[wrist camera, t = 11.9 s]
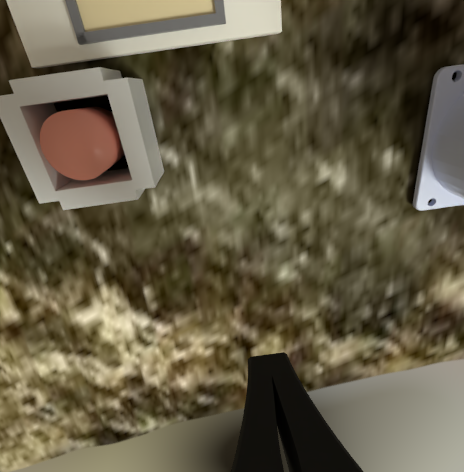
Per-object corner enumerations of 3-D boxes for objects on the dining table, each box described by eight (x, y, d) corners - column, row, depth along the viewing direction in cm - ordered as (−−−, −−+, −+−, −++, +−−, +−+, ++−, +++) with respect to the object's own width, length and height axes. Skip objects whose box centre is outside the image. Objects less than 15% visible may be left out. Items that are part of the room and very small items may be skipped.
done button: (118, 102, 15) (97, 106, 12) (134, 161, 16) (119, 175, 14) (60, 110, 15) (27, 115, 12) (81, 168, 16) (56, 184, 14)
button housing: (139, 67, 15) (123, 63, 12) (166, 179, 17) (157, 196, 15) (26, 84, 15) (-16, 83, 12) (69, 193, 17) (43, 212, 15)
